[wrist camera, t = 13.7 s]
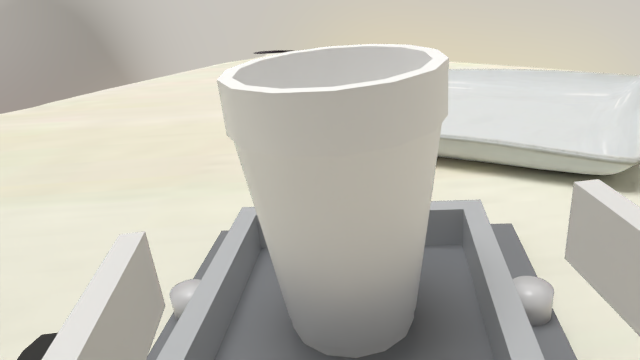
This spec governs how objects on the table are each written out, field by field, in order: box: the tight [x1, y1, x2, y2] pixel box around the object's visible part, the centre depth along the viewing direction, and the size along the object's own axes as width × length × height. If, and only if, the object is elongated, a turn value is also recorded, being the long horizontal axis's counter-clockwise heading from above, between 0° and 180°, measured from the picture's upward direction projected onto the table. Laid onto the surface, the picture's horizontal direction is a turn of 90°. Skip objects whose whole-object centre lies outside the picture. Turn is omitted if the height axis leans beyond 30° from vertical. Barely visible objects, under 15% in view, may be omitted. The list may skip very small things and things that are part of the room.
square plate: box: [437, 69, 640, 175], centre depth 53 cm, size 27×27×4 cm
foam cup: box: [217, 44, 449, 358], centre depth 23 cm, size 10×9×13 cm
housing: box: [146, 200, 577, 360], centre depth 26 cm, size 20×18×4 cm
